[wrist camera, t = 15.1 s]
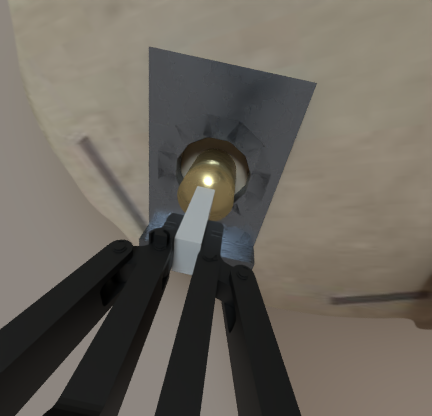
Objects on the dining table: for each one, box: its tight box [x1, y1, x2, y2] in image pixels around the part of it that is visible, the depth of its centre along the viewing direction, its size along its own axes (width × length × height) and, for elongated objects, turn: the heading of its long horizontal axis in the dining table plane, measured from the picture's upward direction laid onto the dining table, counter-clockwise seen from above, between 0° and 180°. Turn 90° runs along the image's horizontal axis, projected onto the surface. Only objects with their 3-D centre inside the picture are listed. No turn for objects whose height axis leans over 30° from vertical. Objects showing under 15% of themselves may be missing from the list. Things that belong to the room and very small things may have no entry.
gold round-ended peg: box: [177, 149, 236, 221], centre depth 20 cm, size 5×5×7 cm
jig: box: [139, 47, 317, 270], centre depth 21 cm, size 20×14×5 cm
